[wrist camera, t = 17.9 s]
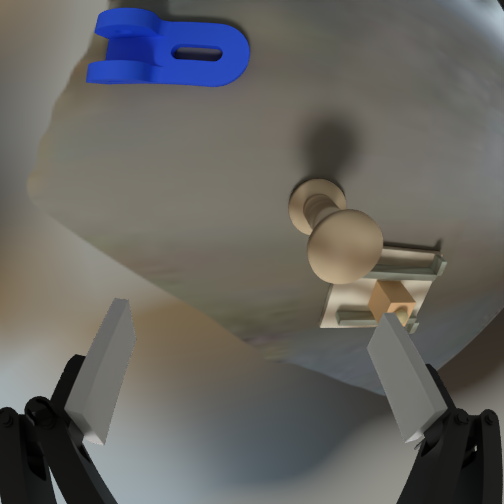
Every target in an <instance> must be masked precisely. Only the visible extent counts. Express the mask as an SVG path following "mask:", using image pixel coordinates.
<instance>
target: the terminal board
mask: <svg viewBox="0 0 504 504" xmlns="http://www.w3.org/2000/svg"><path fill="white" fill-rule="evenodd" d="M442 256H443V254H442V253H440V252H439V251H430V250H421V249H411V248H401V247H391V246H383V249H382V253H381V256H380V258H379V260H378V262H377V264H376V265H375V266H374V268H373V269H372V270H371V271H370V272H369V273H368V274H366V275H365V276H364V277H362V278H360V279H358V280H356V281H354V282H351V283H347V284H333V283H331V284H330V288H329V291H328V294H327V298H326V301H325V304H324V308H323V311H322V314H321V317H320V320H319V326H320V328H349V327H377V325H378V323H377V321H376V320H375V318H374V316H373V314H372V312H371V310H370V309H369V307H368V302H369V300H370V297H371V294H372V292H373V289H374V286H375V284H376V281H400V282H401V283H402V284H403V285H404V287H405V288H406V289H407V291H408V292H409V293H410V295H411V296H412V297H413V299H414V300H415V302H416V304H415V306H414V308H413V311H412V313H411V315H410V317H409V319H408V321H407V323H406V325H405V328H406V329H407V331H408V333H409V334H411V333H414V332H415V330H416V328H417V326H418V324H419V322H418V321H417V318H416V315H417V313H418V311H419V309H420V307H421V305H422V303H423V301H424V298H425V296H426V294H427V292H428V290H429V287H430V285H431V283H432V281H435V279H436V276H437V275H442V273H443V271H444V269H445V266H446V264H447V262H446V261H445V260H444V259H443V258H442Z"/></svg>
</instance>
